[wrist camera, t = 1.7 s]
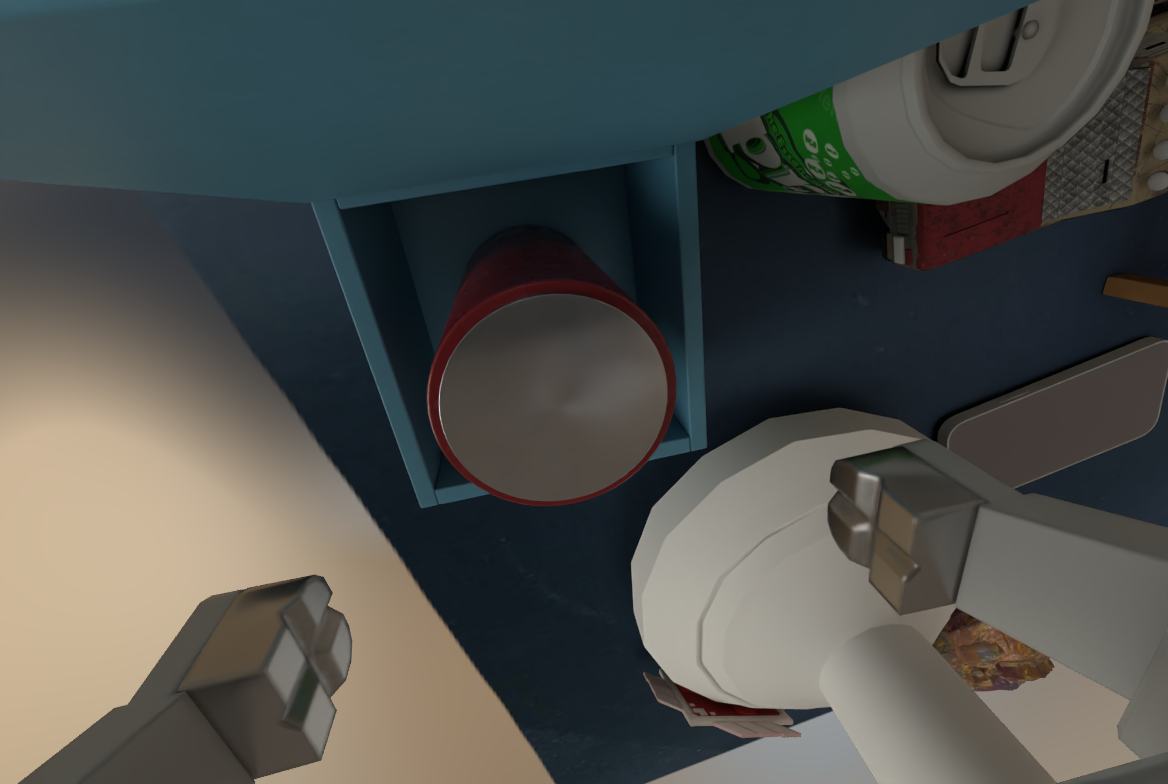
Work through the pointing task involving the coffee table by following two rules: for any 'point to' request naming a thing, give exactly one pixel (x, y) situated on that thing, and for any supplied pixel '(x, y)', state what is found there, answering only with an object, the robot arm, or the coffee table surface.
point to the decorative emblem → (720, 711)
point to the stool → (1138, 289)
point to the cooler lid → (412, 84)
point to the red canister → (547, 374)
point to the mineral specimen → (988, 655)
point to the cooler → (471, 215)
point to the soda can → (946, 110)
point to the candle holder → (807, 607)
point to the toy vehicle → (1056, 173)
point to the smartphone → (1064, 415)
